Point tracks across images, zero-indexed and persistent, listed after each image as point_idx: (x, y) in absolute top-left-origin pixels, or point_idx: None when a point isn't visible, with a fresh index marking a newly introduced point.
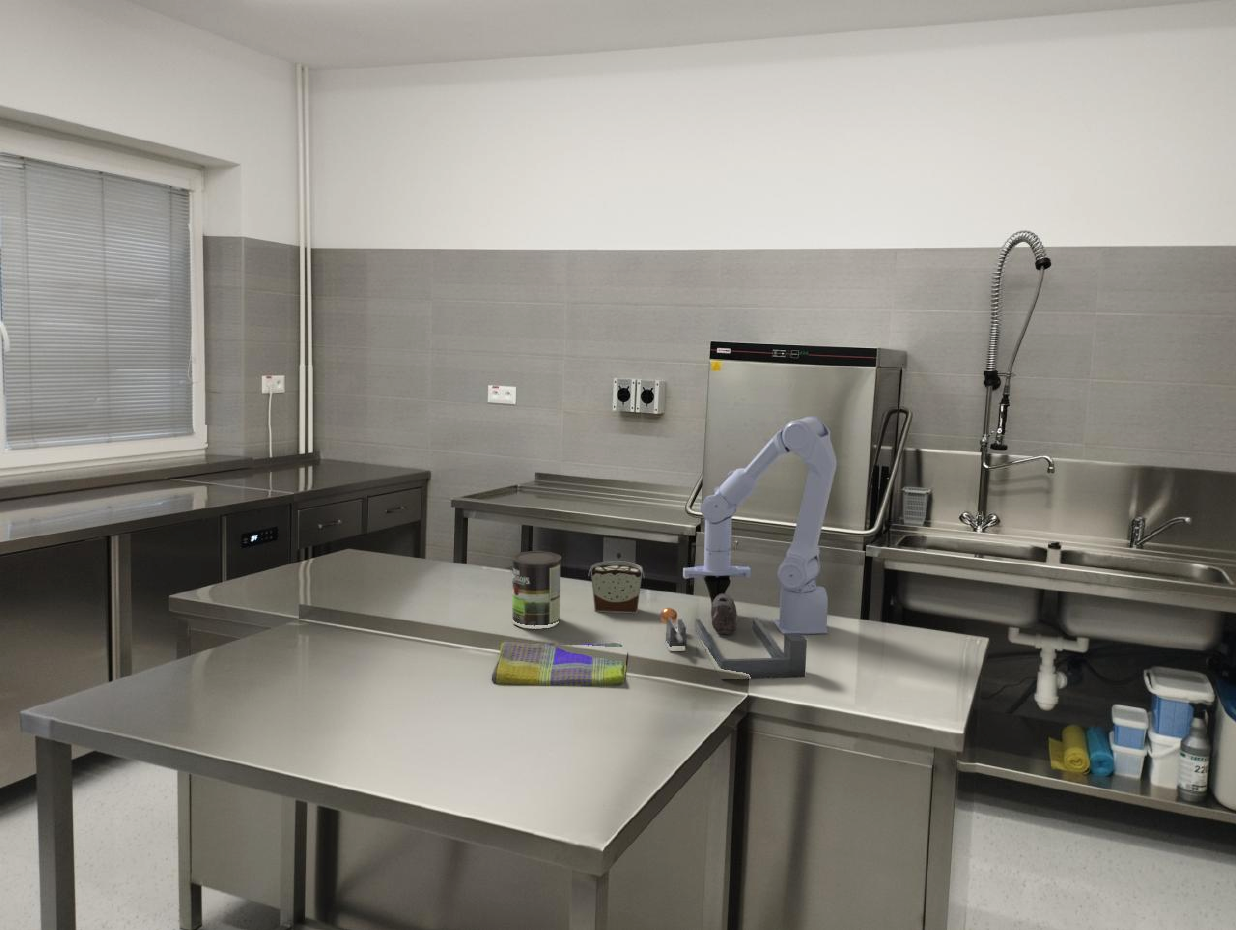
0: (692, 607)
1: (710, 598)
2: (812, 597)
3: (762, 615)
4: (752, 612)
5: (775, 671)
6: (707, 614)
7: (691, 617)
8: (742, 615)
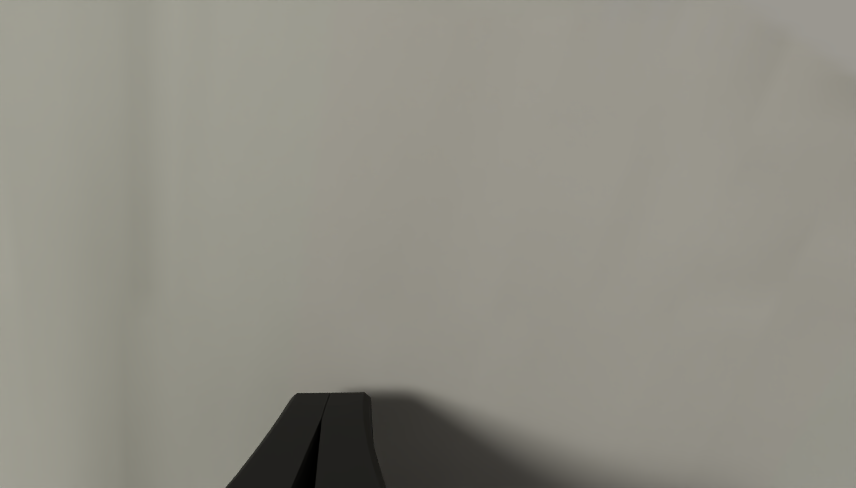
0: (66, 182)
1: (248, 463)
2: None
3: (831, 462)
4: (768, 378)
5: None
6: (248, 415)
7: (75, 485)
8: (620, 455)
